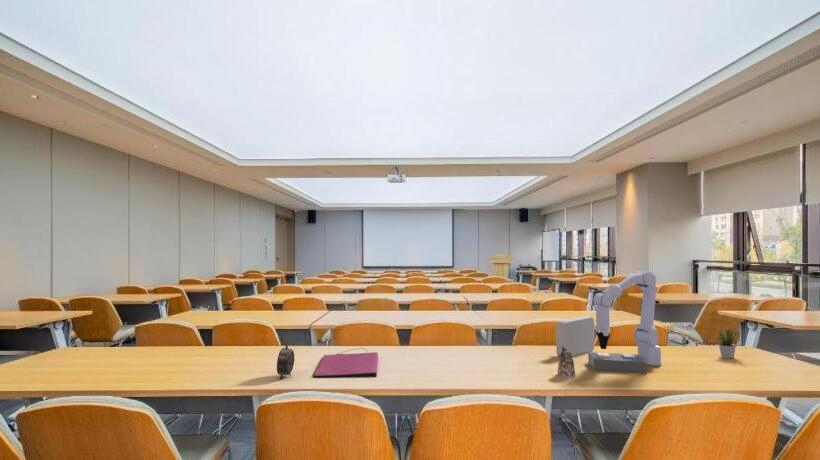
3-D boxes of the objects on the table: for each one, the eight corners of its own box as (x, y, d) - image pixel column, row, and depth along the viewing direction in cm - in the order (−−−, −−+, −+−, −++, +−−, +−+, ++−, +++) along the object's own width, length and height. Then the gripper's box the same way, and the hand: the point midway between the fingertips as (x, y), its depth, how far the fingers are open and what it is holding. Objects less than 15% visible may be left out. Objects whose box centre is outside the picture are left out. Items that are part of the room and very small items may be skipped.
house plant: (753, 358, 222) (752, 325, 222) (742, 362, 214) (741, 328, 214) (720, 353, 233) (719, 321, 234) (708, 356, 226) (708, 324, 226)
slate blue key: (633, 364, 205) (633, 354, 205) (636, 367, 200) (636, 357, 200) (621, 363, 206) (621, 353, 206) (624, 366, 201) (624, 356, 201)
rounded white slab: (581, 347, 245) (581, 315, 246) (594, 350, 239) (594, 316, 240) (552, 355, 227) (551, 320, 228) (565, 358, 221) (565, 322, 222)
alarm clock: (284, 373, 194) (284, 336, 195) (296, 373, 194) (296, 336, 195) (275, 380, 183) (276, 341, 184) (288, 380, 183) (289, 341, 184)
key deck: (638, 365, 208) (637, 354, 209) (646, 373, 195) (646, 362, 195) (588, 362, 213) (588, 352, 213) (593, 370, 200) (593, 359, 200)
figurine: (562, 378, 188) (562, 349, 188) (554, 373, 195) (554, 346, 195) (578, 377, 189) (577, 349, 189) (569, 372, 196) (569, 345, 196)
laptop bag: (376, 369, 189) (312, 371, 188) (377, 378, 189) (312, 380, 187) (378, 347, 229) (325, 349, 228) (378, 355, 229) (325, 356, 227)
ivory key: (608, 362, 207) (607, 353, 207) (610, 365, 202) (610, 355, 202) (596, 362, 208) (596, 352, 208) (598, 365, 203) (598, 355, 204)
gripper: (590, 316, 214) (591, 344, 214) (596, 321, 200) (597, 351, 199) (606, 317, 213) (607, 345, 212) (613, 322, 198) (613, 352, 198)
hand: (603, 348), depth 206 cm, fingers closed
